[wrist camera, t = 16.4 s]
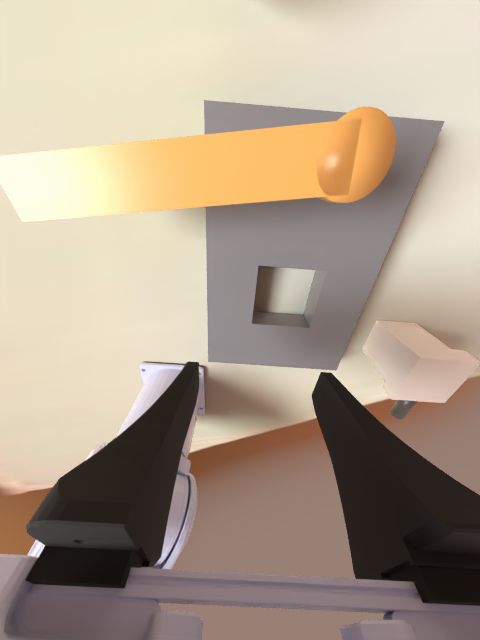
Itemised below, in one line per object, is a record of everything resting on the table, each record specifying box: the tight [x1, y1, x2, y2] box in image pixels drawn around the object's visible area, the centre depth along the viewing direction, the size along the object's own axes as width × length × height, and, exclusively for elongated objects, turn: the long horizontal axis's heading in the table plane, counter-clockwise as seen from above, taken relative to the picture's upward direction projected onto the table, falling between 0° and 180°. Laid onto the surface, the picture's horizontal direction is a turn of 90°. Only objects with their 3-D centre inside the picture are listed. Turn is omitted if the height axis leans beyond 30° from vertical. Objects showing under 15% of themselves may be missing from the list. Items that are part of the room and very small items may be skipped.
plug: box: [362, 320, 480, 419], centre depth 21 cm, size 8×5×6 cm, turn 176°
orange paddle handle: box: [0, 107, 396, 222], centre depth 9 cm, size 16×3×2 cm, turn 94°
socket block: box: [204, 100, 444, 370], centre depth 16 cm, size 20×14×7 cm
